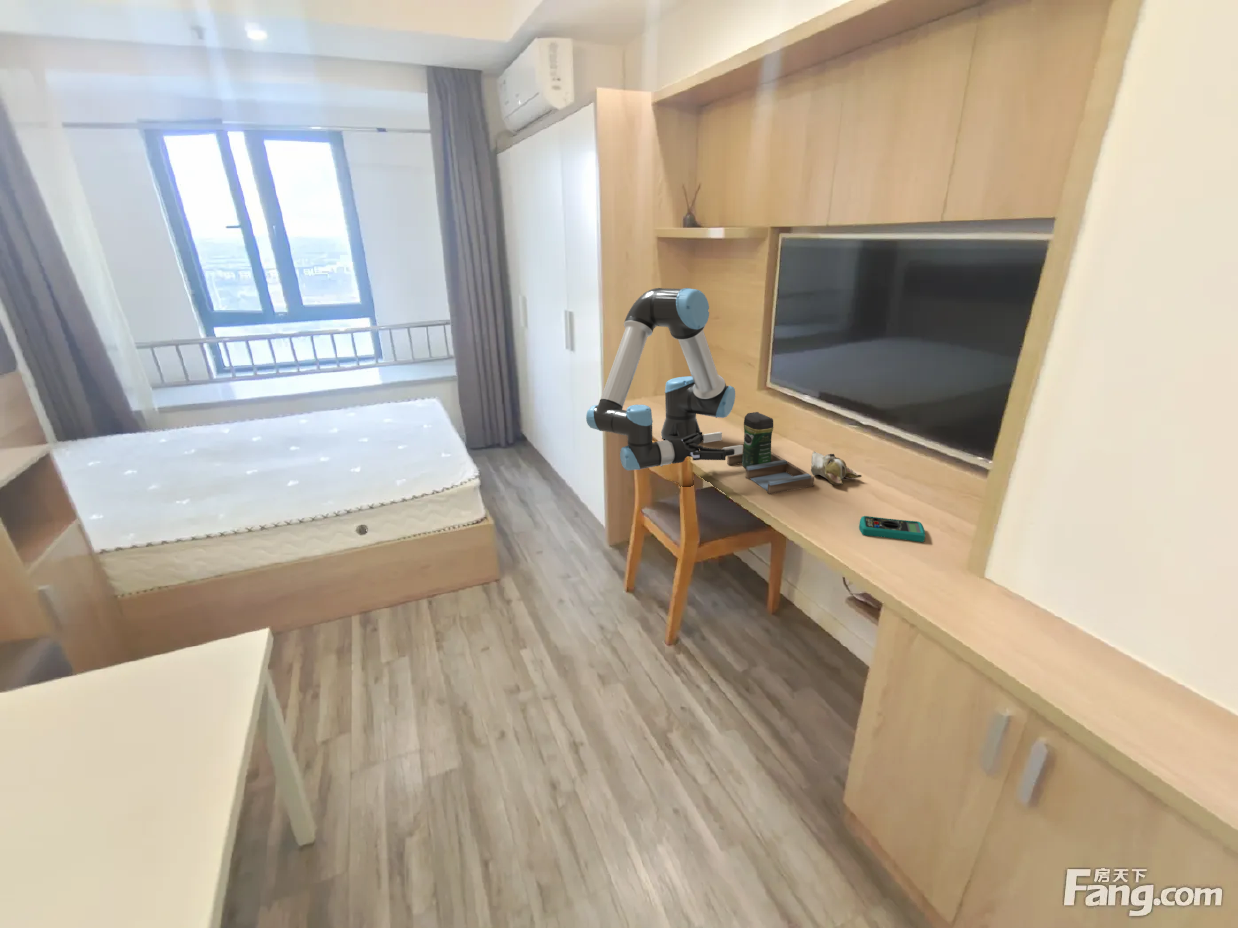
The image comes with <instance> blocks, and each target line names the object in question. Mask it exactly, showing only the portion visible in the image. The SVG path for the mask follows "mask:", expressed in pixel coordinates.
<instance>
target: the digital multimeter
mask: <svg viewBox="0 0 1238 928" xmlns="http://www.w3.org/2000/svg"><path fill="white" fill-rule="evenodd" d="M858 524H859V526H858V529H859V531H860V534H862V536H865V537H874V538H875V537H877V538H884V539H885V538H886V539H893V540H894V539H895V540H904V541H909V542H910V541H911V542H916V543H917V542H918V543H924V542H925V539H926V530H925V527H924V525H923V523H922V522H920V521H916V520H903V519H893V518H886V517H877V516H869V515H864V516H861V517H860V520H859V523H858Z"/></svg>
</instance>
